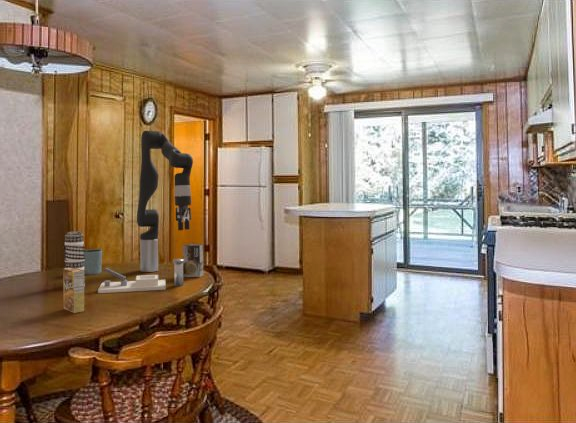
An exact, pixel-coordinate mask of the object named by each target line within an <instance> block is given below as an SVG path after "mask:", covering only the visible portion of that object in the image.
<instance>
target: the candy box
mask: <svg viewBox="0 0 576 423" xmlns="http://www.w3.org/2000/svg"><path fill="white" fill-rule="evenodd" d="M62 274H63V275H62V277H63V278H62V281H63V282H62V283H63V284H62V286H63V288H62V290H63V293H62V294H63V295H62V296H63V299H62V300H63V309H64V310H66V311H69V312H71V313H72V314H77V313H83V312H85V286H84V284H85V283H84V281H85V280H84V277H85V275H84V270H80V269H76V268H66V267H65V268H63V269H62Z"/></svg>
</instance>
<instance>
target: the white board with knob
mask: <svg viewBox="0 0 576 423" xmlns="http://www.w3.org/2000/svg"><path fill="white" fill-rule="evenodd" d="M166 286H167V284H166V279H159V274H146V275H136V277H135V280H129V281H128V280H127V279H125V280H124V281H123V280H122V279H120V281H111V280H110V279H109V280H104V282H102V283H101V284H100V286H99V287H98V289H97V294H106V293H108V294H110V293H111V294H112V293H128V292H129V293H130V292H145V291H146V292H147V291H163V290H165V291H166Z"/></svg>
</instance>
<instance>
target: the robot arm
mask: <svg viewBox="0 0 576 423" xmlns="http://www.w3.org/2000/svg"><path fill="white" fill-rule="evenodd" d="M140 136H141V138H140V139H141V140H140V147H141V148H140V149H141V151H140V152H141V154H140V155H141V156H140V159H141V160H140V162H141V164H140V175H139V176H140V177H139V195H138V196H139V197H138V204H137V211H136V212H137V213H136V224H137V226H138V227H141V228H142V227H143V228H147V227H148V228H149V229H148V230H147V231H145V232H143V233H140V236H139V238H140V239H139V240H140V241H139V243H140V244H139V246H140V248H139V249H140V250H139V252H140V259H139V260H140V272H142V273H151V272H152V273H154V272H157V271H159V224H160V216H159V215H160V214H159V212H158V210H157V209H153V208H152V209H146V208H147V206H148V203H149V200H150V199H151V198H152V196H153V195H154V194H155V192H156V191H157V189H158V186H159V172H158V170H157V168H156V166H155V163H153V161H152V158H151V150H160V151H161V155H162V156H163V157H164V158H165V159H167V160H168V162H169V165H170V166H171V167H172V168H174V169H182V171H181V172H177V173H175V174H174V176H173V177H174V206H176V207H175V222H177V228H178V229H177V230H178V231H183V230H190V221H191V220H192V214H191V213H192V212H191V207H188V206H191V205H192V192H191V191H192V190H191V182H190V181H191V180H190V178H191V173H192V172H191V171H192V168H193V164H194V158H193V155H192V154H190V153H186V152H184V153H183V152H181V151H180V149H178V148H177V147H176V146H175V145H173V144H172V143H171V142H170V140H169V139H168V138H167V136H166V135H165V134H164V133H163V132H161V131H159V130H143V131H142V133H141V135H140ZM177 206H178V207H177Z"/></svg>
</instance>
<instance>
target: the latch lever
mask: <svg viewBox="0 0 576 423" xmlns="http://www.w3.org/2000/svg"><path fill="white" fill-rule="evenodd" d="M104 273H108V274H109V275H112V276H114V277H116V278H118V279H120V280H123V281H124V280H127V276H126V275H123V274H121V273H119V272H116V271H114V270H113V269H110V268H109V267H106V268H104Z"/></svg>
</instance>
